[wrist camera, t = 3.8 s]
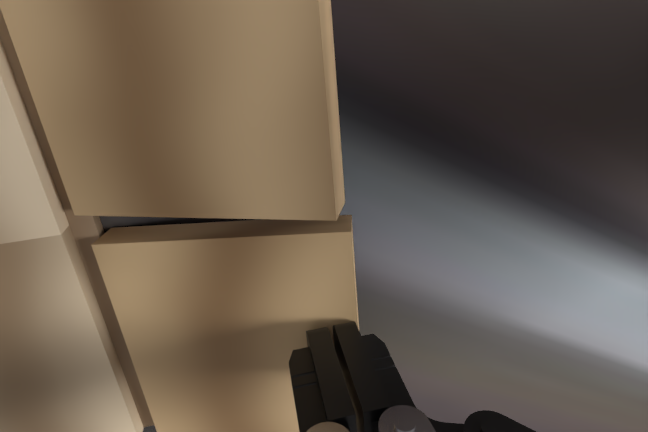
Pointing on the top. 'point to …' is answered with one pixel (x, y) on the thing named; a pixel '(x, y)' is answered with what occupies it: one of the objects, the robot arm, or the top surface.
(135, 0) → the plank near
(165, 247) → the plank far
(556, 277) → the top surface
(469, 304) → the top surface
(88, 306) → the laid strip
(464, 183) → the top surface
